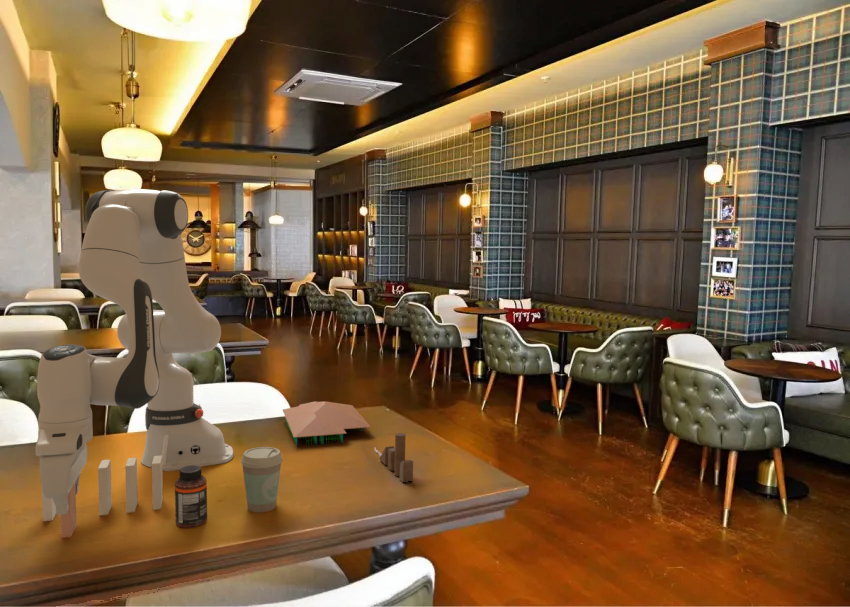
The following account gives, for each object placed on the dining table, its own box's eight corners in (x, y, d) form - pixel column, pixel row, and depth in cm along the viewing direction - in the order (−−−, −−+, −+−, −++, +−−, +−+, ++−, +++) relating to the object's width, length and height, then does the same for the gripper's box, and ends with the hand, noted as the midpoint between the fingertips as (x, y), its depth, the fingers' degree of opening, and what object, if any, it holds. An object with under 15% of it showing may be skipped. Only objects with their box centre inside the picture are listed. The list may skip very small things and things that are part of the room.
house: (350, 412, 211) (350, 389, 210) (374, 442, 180) (374, 414, 179) (281, 417, 204) (281, 392, 203) (293, 448, 173) (293, 419, 172)
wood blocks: (412, 482, 149) (413, 440, 148) (402, 484, 148) (403, 441, 147) (379, 450, 172) (379, 413, 171) (370, 451, 171) (370, 414, 170)
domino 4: (162, 500, 135) (162, 455, 134) (161, 509, 130) (160, 463, 129) (154, 501, 135) (154, 456, 134) (152, 510, 130) (152, 463, 129)
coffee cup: (261, 519, 127) (261, 462, 126) (232, 509, 131) (232, 453, 130) (291, 505, 134) (291, 450, 133) (262, 496, 139) (262, 443, 137)
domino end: (57, 510, 129) (56, 463, 128) (52, 521, 124) (50, 472, 123) (49, 511, 128) (47, 464, 127) (43, 521, 123) (41, 473, 122)
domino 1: (76, 526, 122) (75, 476, 121) (71, 537, 117) (69, 486, 116) (67, 527, 121) (65, 477, 120) (61, 539, 116) (60, 487, 116)
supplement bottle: (180, 516, 127) (180, 463, 126) (210, 516, 128) (210, 462, 127) (171, 530, 121) (170, 473, 120) (202, 529, 122) (202, 473, 121)
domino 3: (137, 502, 133) (136, 457, 133) (134, 512, 129) (134, 465, 128) (129, 503, 133) (128, 458, 132) (126, 513, 128) (125, 466, 127)
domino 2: (111, 505, 132) (110, 459, 131) (108, 515, 127) (106, 467, 126) (103, 506, 131) (102, 460, 130) (99, 516, 127) (98, 468, 126)
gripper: (59, 418, 126) (61, 484, 127) (32, 450, 107) (34, 527, 108) (94, 416, 128) (95, 481, 129) (73, 447, 109) (75, 523, 110)
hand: (67, 503), depth 118 cm, fingers open, 8 cm apart
